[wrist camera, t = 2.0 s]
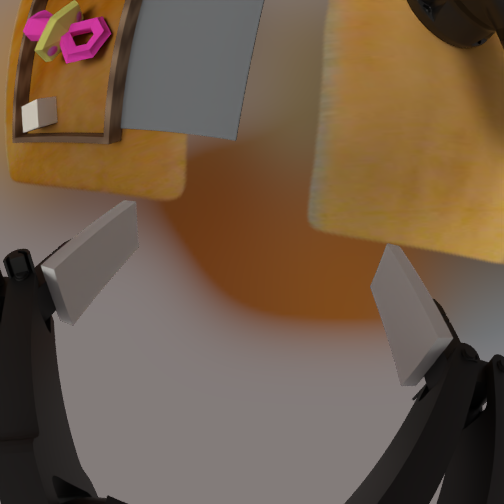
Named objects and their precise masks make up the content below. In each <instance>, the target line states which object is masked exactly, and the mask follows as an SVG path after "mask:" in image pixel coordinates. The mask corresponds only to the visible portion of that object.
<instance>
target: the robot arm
mask: <svg viewBox="0 0 504 504" xmlns="http://www.w3.org/2000/svg"><path fill="white" fill-rule="evenodd" d="M407 1H408V3H409V5H410V7H411V8H412V10H413V11H414V13H415V14H416V16H417V17H418V18H419V19H420V21H421V22H422V23H423V24H424V25H425V26H426V27H427V28H428V29H429V30H430V31H431V32H432V33H434V34H435V35H436V36H437V37H439V38H440V39H442V40H443V41H445V42H447V43H449V44H451V45H453V46H456V47H460V48H472V47H477V46H480V45H482V44H483V43H485V42H486V41H487V40H488V39H489V38H490V37H491V36H492V35H493V34H494V33H495V32H496V33H497V35H498V37H499V39H500V42H501V44H502V46H503V49H504V0H407ZM136 213H137V212H136V202H135V201H126V200H124V201H122V202H121V203H119V204H118V205H117V206H115V207H114V208H112V209H111V210H109V211H108V212H107V213H105V214H104V215H103V216H101V217H100V218H98V219H97V220H96V221H94V222H93V223H92V224H90V225H89V226H88V227H87V228H85V229H84V230H83V231H81V232H80V233H79V234H77V235H76V236H75V237H74V238H72V239H70V240H68V241H66V242H64V243H63V244H62V245H61V246H59V247H58V249H56V250H55V251H53V252H52V254H50V255H49V256H48V257H46V258H45V259H44V260H43V261H42V262H41V263H39V264H38V265H37V266H36V267H35V268H34V264H33V261H32V258H31V254H30V251H29V250H28V249H18V250H15V251H13V252H11V253H9V254H8V255H7V256H6V257H5V259H4V260H3V262H4V265H5V268H6V271H7V274H8V277H3V276H2V273H1V270H0V501H1V504H127V503H125V502H122V501H120V500H117V499H115V498H113V497H110V496H107V498H99V497H98V496H97V493H96V491H95V489H94V487H93V484H92V482H91V481H90V479H89V477H88V476H87V475H86V473H85V472H84V470H83V469H82V467H81V465H80V462H79V459H78V456H77V453H76V450H75V446H74V443H73V439H72V436H71V432H70V428H69V424H68V420H67V416H66V411H65V407H64V401H63V397H62V391H61V385H60V379H59V372H58V364H57V355H56V346H55V333H54V320H53V317H52V314H53V313H54V312H55V310H56V311H57V314H58V316H59V319H60V321H62V322H65V323H67V324H70V325H72V326H73V325H74V324H75V323H76V321H77V320H78V319H79V317H80V316H81V315H82V314H83V312H84V311H85V310H86V309H87V307H88V306H89V305H90V304H91V302H92V301H93V300H94V299H95V297H96V296H97V295H98V294H99V292H100V291H101V290H102V289H103V287H104V286H105V285H106V284H107V283H108V282H109V280H110V279H111V278H112V277H113V276H114V275H115V273H116V272H117V271H118V270H119V269H120V268H121V267H122V265H123V264H124V263H125V262H126V261H127V260H128V259H129V258H130V257H131V255H132V254H133V253H134V252H135V251H136V250H137V249H138V248H139V243H138V230H137V214H136ZM370 288H371V290H372V294H373V296H374V299H375V302H376V305H377V308H378V310H379V313H380V316H381V319H382V322H383V325H384V329H385V331H386V334H387V338H388V341H389V345H390V348H391V351H392V354H393V358H394V361H395V365H396V369H397V372H398V376H399V380H400V383H401V386H415V385H417V384H418V383H419V382H420V380H421V379H422V378H423V377H425V381H426V384H425V385H424V387H423V388H422V389H421V390H420V391H419V392H418V393H417V394H416V395H415V396H414V398H413V400H415V399H416V398H417V399H416V401H415V403H414V405H413V407H412V408H411V410H410V412H409V414H408V416H407V417H406V419H405V421H404V423H403V424H402V426H401V428H400V429H399V431H398V432H397V434H396V436H395V437H394V439H393V440H392V442H391V444H390V445H389V447H388V448H387V450H386V451H385V453H384V454H383V456H382V457H381V458H380V460H379V461H378V463H377V464H376V465H375V467H374V468H373V469H372V471H371V472H370V473H369V475H368V476H367V477H366V479H365V480H364V481H363V482H362V484H361V485H360V486H359V487H358V489H357V490H356V491H355V492H354V493H353V494H352V496H351V497H350V498H349V499H348V500H347V501H346V503H345V504H429V503H430V501H431V499H432V498H433V496H434V494H435V492H436V490H437V488H438V486H439V484H440V482H441V480H442V478H443V476H444V474H445V476H444V480H443V484H442V488H441V491H440V495H439V498H438V501H437V504H504V357H503V356H501V355H498V354H497V355H494V356H493V358H492V359H491V360H490V361H489V362H485V361H482V360H480V358H479V356H478V354H477V352H476V351H475V349H474V348H472V347H471V346H470V345H468V344H466V343H461V342H460V340H459V338H458V336H457V334H456V332H455V330H454V328H453V326H452V325H451V323H450V322H449V319H448V317H447V316H446V314H445V312H444V310H443V308H442V306H441V305H440V304H439V303H438V302H437V301H436V300H435V299H432V297H431V296H430V294H429V292H428V290H427V289H426V287H425V285H424V284H423V282H422V280H421V279H420V277H419V275H418V274H417V272H416V271H415V269H414V268H413V266H412V264H411V263H410V261H409V260H408V258H407V257H406V255H405V254H404V252H403V251H402V249H401V248H400V246H397V245H392V244H388V243H387V245H386V248H385V251H384V253H383V256H382V258H381V261H380V264H379V266H378V269H377V271H376V274H375V276H374V279H373V281H372V283H371V286H370ZM486 402H487V405H486V408H485V410H483V411H482V406H483V405H484V404H485V403H486Z"/></svg>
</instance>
